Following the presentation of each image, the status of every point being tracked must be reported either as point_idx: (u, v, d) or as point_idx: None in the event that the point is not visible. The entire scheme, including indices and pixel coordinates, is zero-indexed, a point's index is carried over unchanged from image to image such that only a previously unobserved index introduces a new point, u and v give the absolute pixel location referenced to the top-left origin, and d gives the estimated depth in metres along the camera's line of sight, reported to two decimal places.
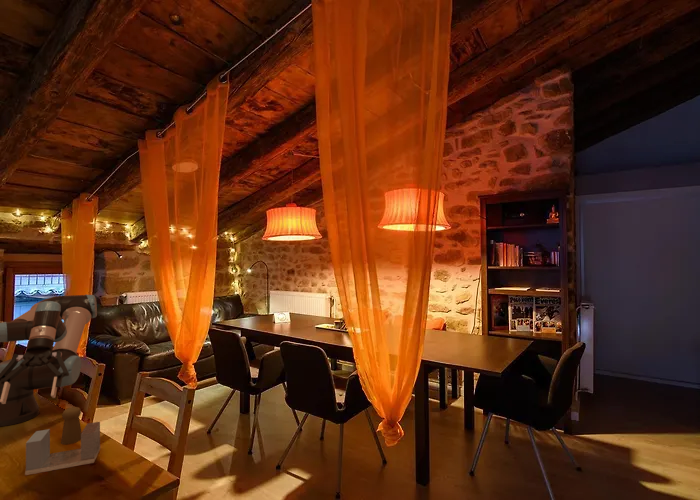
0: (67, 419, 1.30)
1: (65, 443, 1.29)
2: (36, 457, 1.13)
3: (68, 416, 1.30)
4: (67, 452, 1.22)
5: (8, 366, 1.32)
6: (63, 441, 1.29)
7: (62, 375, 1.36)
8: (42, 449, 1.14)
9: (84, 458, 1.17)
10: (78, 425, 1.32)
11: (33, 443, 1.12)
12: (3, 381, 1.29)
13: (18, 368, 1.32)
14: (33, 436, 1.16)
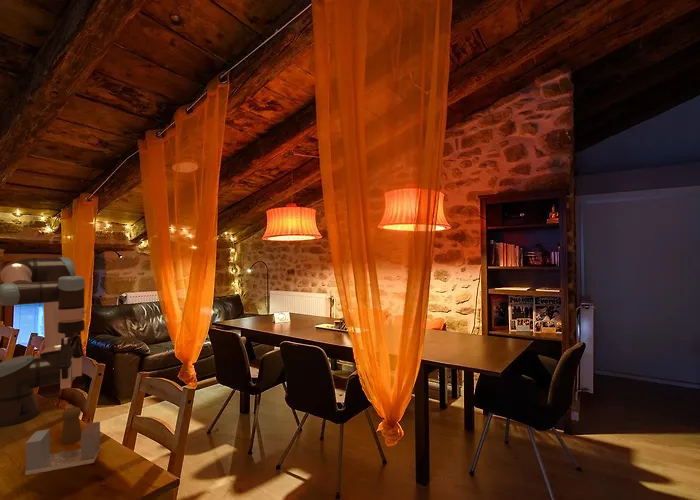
0: (67, 419, 1.30)
1: (65, 443, 1.29)
2: (36, 457, 1.13)
3: (68, 416, 1.30)
4: (67, 452, 1.22)
5: (69, 351, 1.26)
6: (63, 441, 1.29)
7: None
8: (42, 449, 1.14)
9: (84, 458, 1.17)
10: (78, 425, 1.32)
11: (33, 443, 1.12)
12: (68, 367, 1.26)
13: (72, 352, 1.29)
14: (33, 436, 1.16)
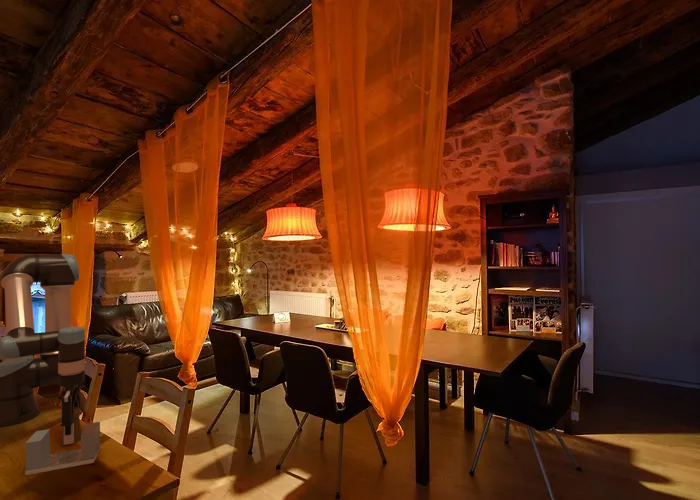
0: None
1: None
2: (36, 457, 1.13)
3: None
4: (67, 452, 1.22)
5: (71, 408, 1.27)
6: (63, 441, 1.29)
7: None
8: (42, 449, 1.14)
9: (84, 458, 1.17)
10: (78, 425, 1.32)
11: (33, 443, 1.12)
12: None
13: (73, 407, 1.30)
14: (33, 436, 1.16)
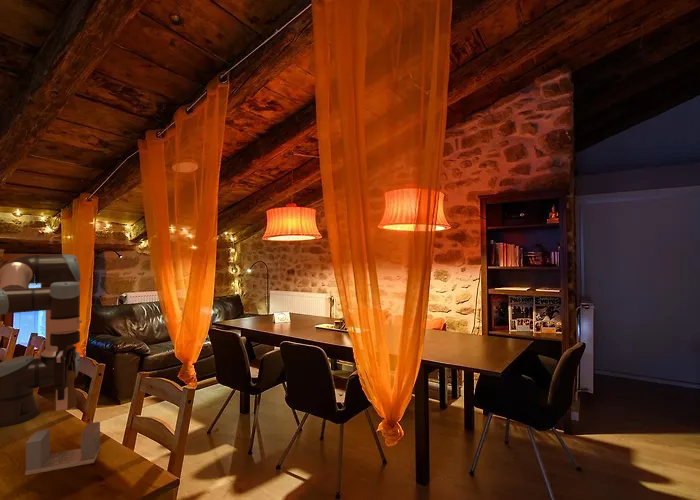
0: None
1: None
2: (36, 457, 1.13)
3: None
4: (67, 452, 1.22)
5: (64, 370, 1.14)
6: None
7: None
8: (42, 449, 1.14)
9: (84, 458, 1.17)
10: (72, 390, 1.19)
11: (33, 443, 1.12)
12: None
13: (67, 369, 1.17)
14: (33, 436, 1.16)
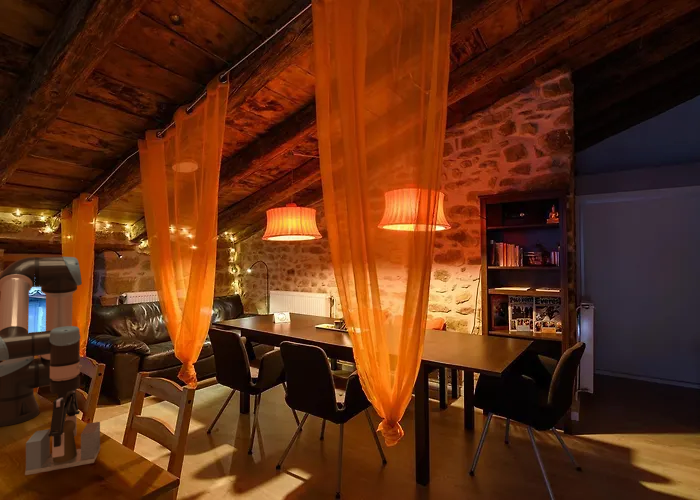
0: None
1: (58, 461, 1.16)
2: (36, 457, 1.13)
3: None
4: None
5: (62, 415, 1.12)
6: (55, 459, 1.16)
7: None
8: (42, 449, 1.14)
9: (84, 458, 1.17)
10: (72, 440, 1.19)
11: (33, 443, 1.12)
12: (61, 433, 1.12)
13: (65, 415, 1.15)
14: (33, 436, 1.16)
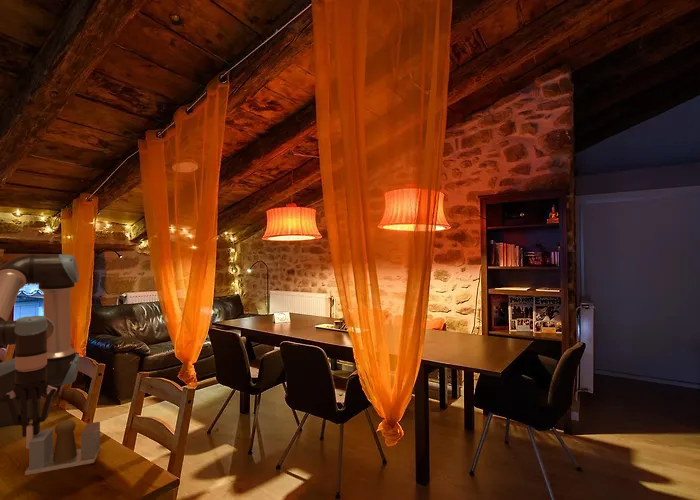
0: (60, 434, 1.16)
1: (58, 461, 1.16)
2: (39, 456, 1.13)
3: (62, 431, 1.16)
4: None
5: None
6: (55, 459, 1.16)
7: None
8: (45, 448, 1.15)
9: (84, 458, 1.17)
10: (72, 440, 1.19)
11: (36, 442, 1.13)
12: None
13: None
14: (36, 436, 1.16)
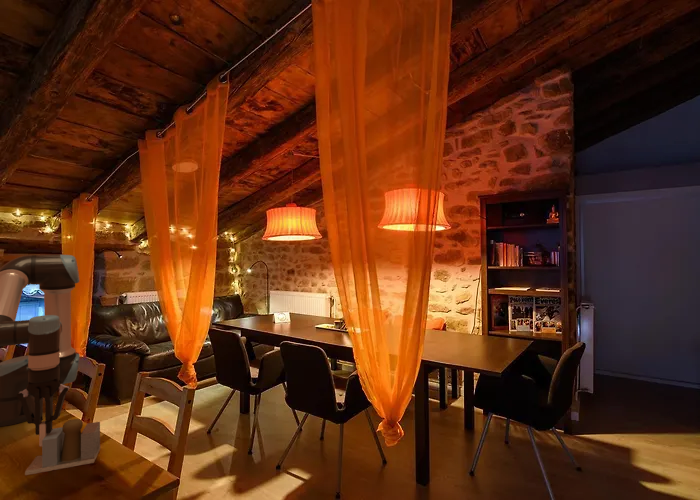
0: (68, 433, 1.17)
1: (66, 459, 1.17)
2: (52, 454, 1.14)
3: (69, 430, 1.17)
4: None
5: None
6: (63, 457, 1.17)
7: None
8: (58, 446, 1.16)
9: (84, 458, 1.17)
10: (80, 439, 1.20)
11: (49, 440, 1.14)
12: None
13: None
14: (49, 434, 1.17)
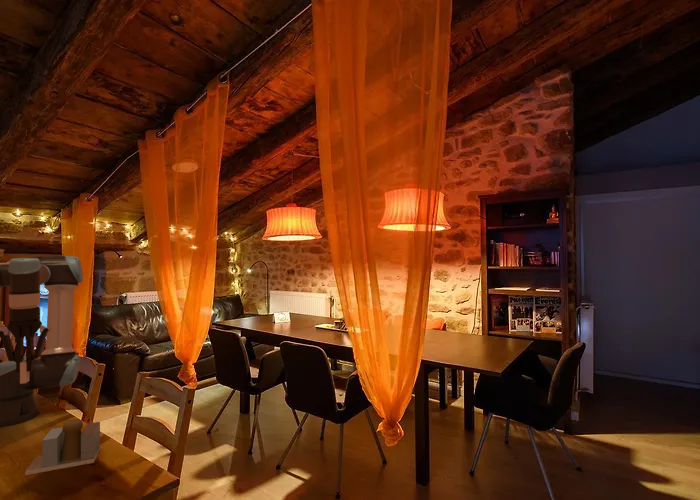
0: (68, 433, 1.17)
1: (66, 459, 1.17)
2: (52, 454, 1.14)
3: (70, 430, 1.17)
4: None
5: None
6: (64, 457, 1.17)
7: None
8: (58, 446, 1.16)
9: (84, 458, 1.17)
10: (80, 439, 1.20)
11: (49, 440, 1.14)
12: None
13: None
14: (49, 434, 1.17)
